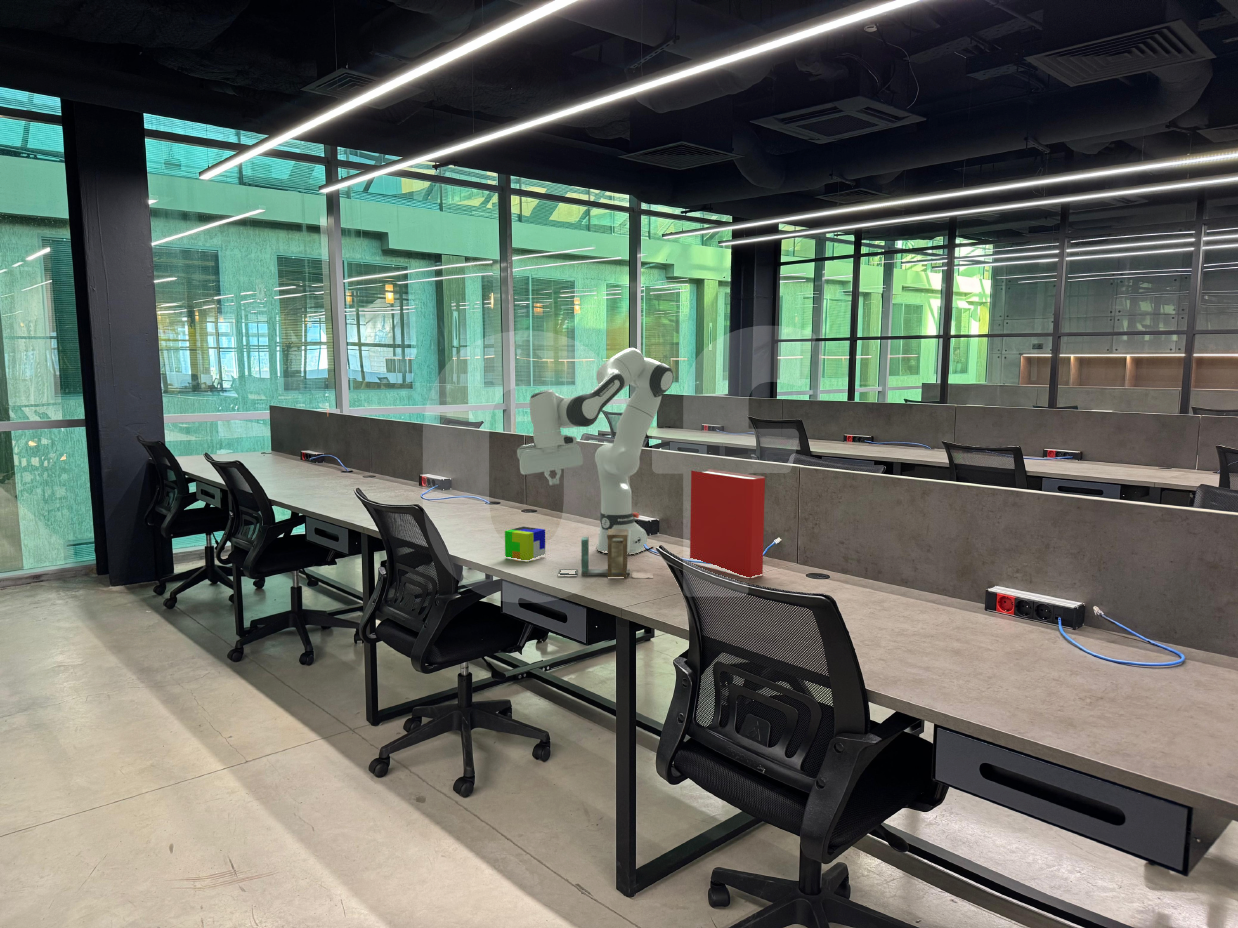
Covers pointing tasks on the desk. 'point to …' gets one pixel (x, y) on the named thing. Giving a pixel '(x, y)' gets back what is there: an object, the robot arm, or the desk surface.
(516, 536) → the puzzle toy
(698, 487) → the book
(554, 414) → the robot arm
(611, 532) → the tunnel
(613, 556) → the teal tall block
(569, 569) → the tray
